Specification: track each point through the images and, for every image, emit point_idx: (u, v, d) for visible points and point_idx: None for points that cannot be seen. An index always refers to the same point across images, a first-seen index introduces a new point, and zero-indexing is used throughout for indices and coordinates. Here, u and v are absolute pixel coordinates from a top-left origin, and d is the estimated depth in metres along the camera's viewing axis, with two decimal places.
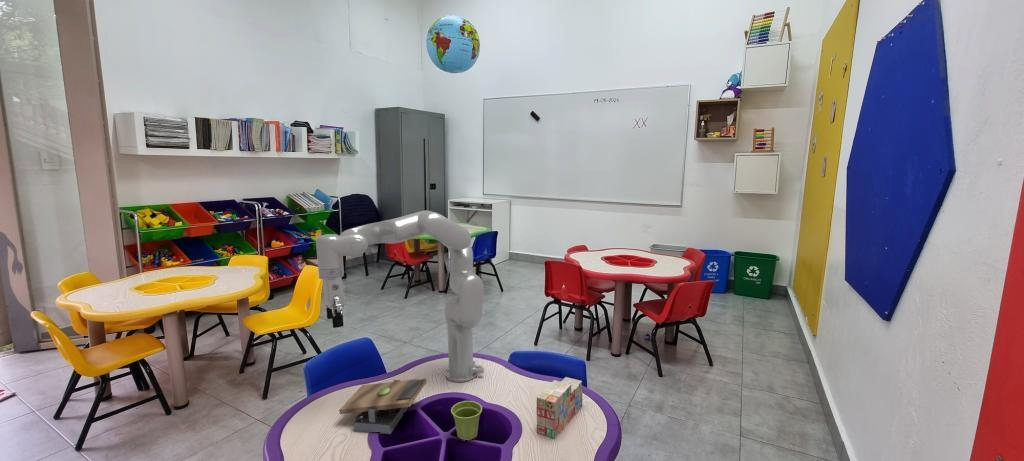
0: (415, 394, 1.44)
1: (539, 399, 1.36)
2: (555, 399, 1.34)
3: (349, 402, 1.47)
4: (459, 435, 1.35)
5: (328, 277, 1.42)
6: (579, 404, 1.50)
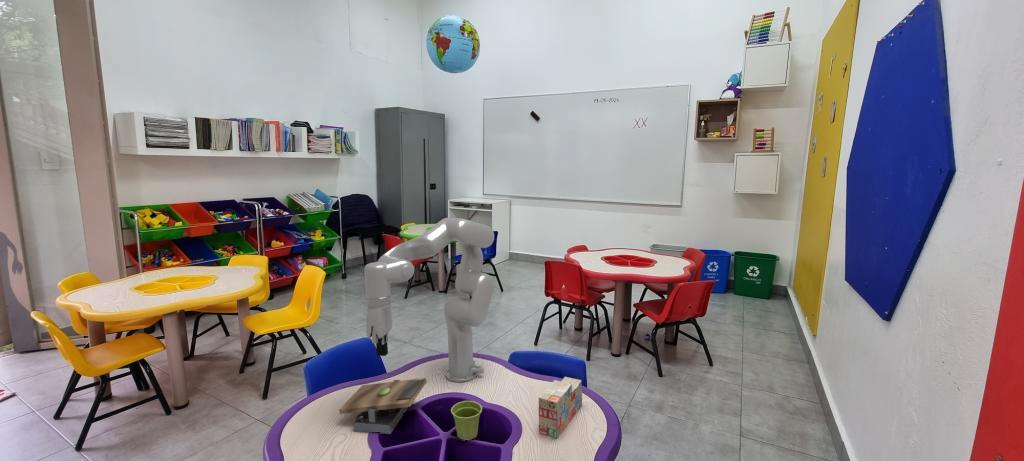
0: (415, 394, 1.44)
1: (541, 399, 1.35)
2: (557, 399, 1.34)
3: (349, 402, 1.47)
4: (459, 435, 1.35)
5: None
6: (579, 403, 1.51)
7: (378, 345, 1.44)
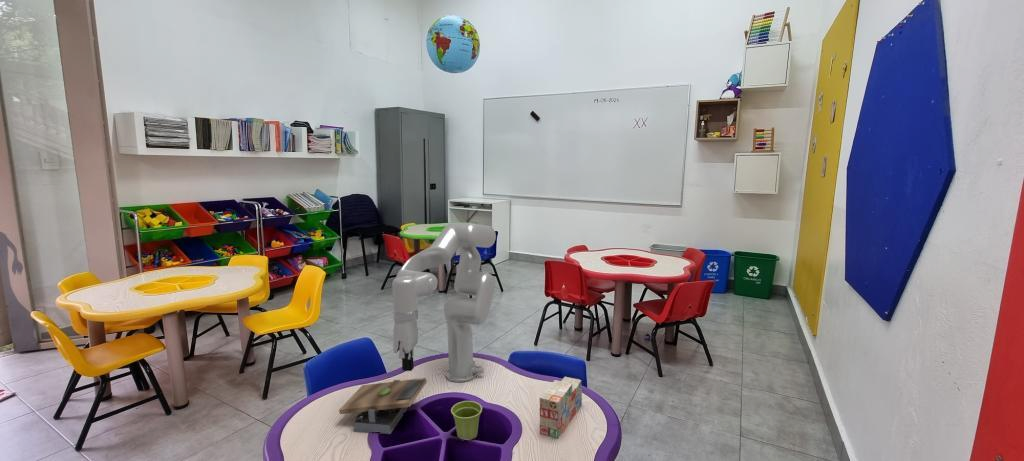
0: (415, 394, 1.44)
1: (542, 399, 1.35)
2: (558, 399, 1.34)
3: (349, 402, 1.47)
4: (459, 435, 1.35)
5: None
6: (579, 403, 1.51)
7: (404, 360, 1.43)
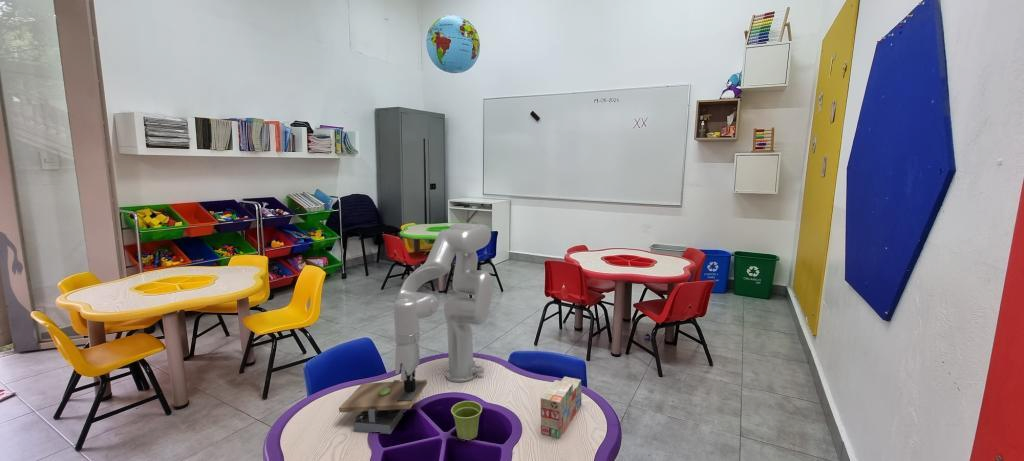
0: (416, 396, 1.44)
1: (543, 400, 1.35)
2: (559, 399, 1.34)
3: (349, 400, 1.47)
4: (459, 435, 1.35)
5: None
6: (579, 403, 1.51)
7: (406, 381, 1.45)
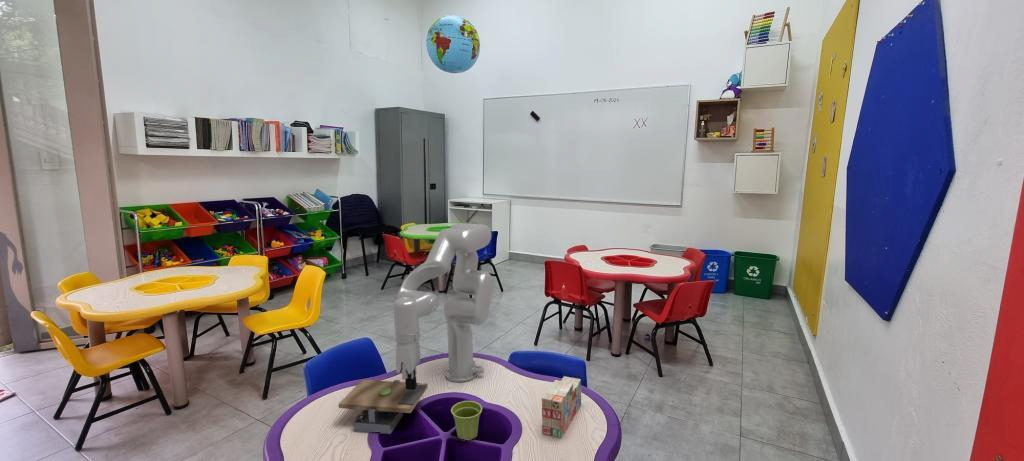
0: (417, 400, 1.45)
1: (545, 400, 1.35)
2: (560, 399, 1.35)
3: (349, 396, 1.47)
4: (459, 435, 1.35)
5: None
6: (579, 402, 1.51)
7: (407, 379, 1.45)
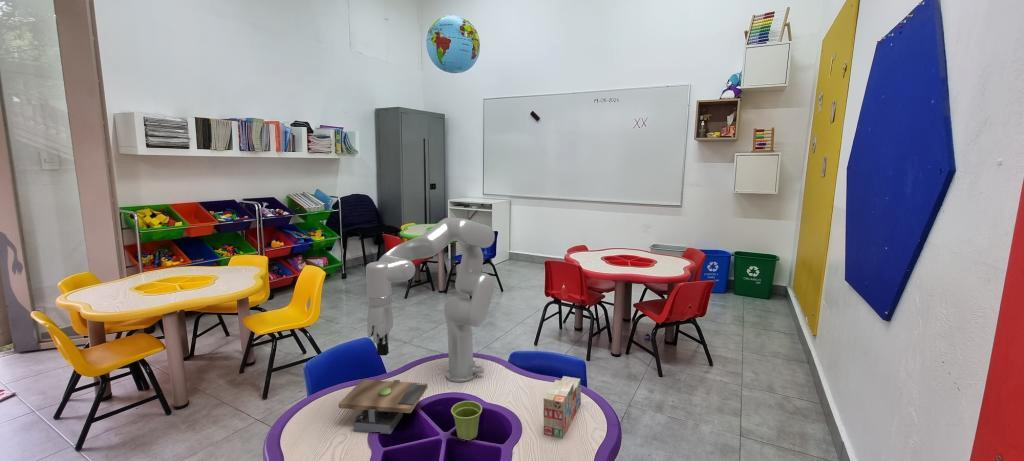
0: (417, 400, 1.45)
1: (546, 400, 1.35)
2: (562, 399, 1.35)
3: (349, 396, 1.47)
4: (459, 435, 1.35)
5: None
6: (578, 402, 1.52)
7: (379, 345, 1.44)
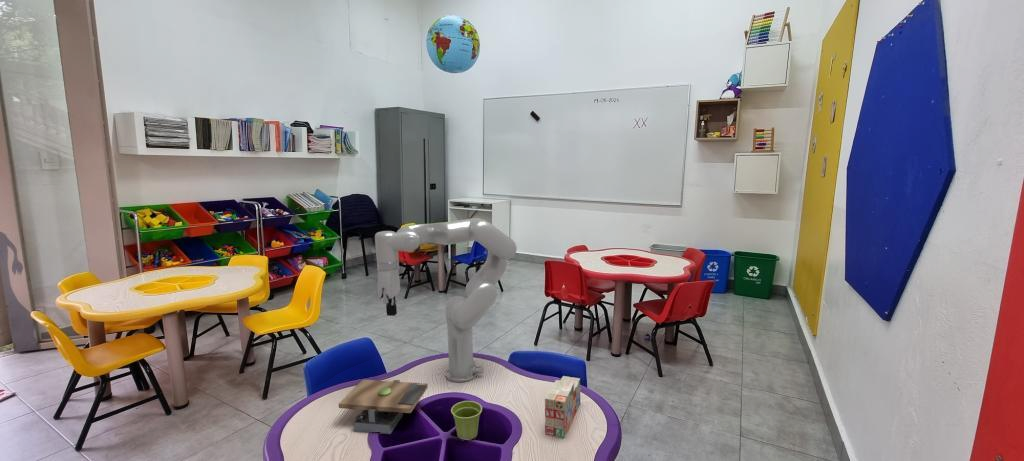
0: (417, 400, 1.45)
1: (548, 400, 1.35)
2: (564, 399, 1.35)
3: (349, 396, 1.47)
4: (459, 435, 1.35)
5: None
6: (578, 401, 1.52)
7: (388, 306, 1.61)
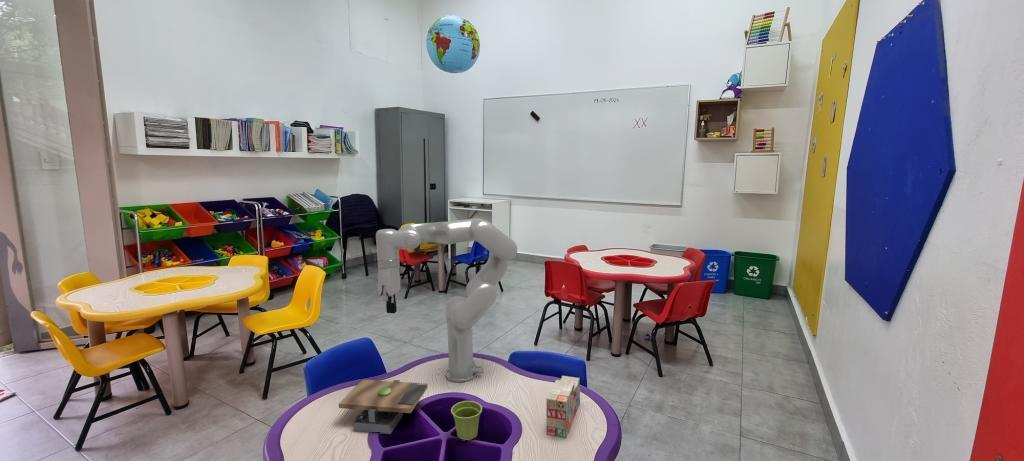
0: (417, 400, 1.45)
1: (549, 400, 1.35)
2: (565, 399, 1.35)
3: (349, 396, 1.47)
4: (459, 435, 1.35)
5: None
6: (578, 401, 1.52)
7: (388, 303, 1.61)
